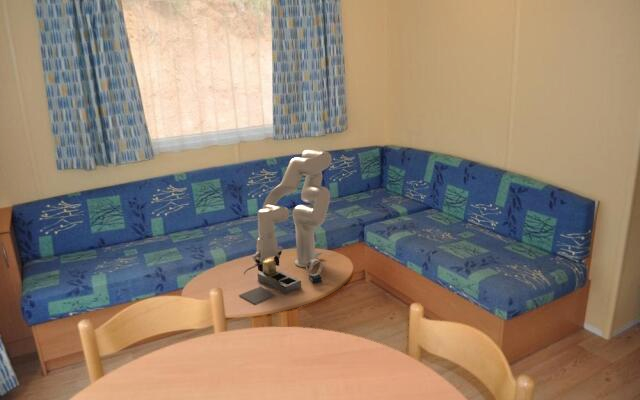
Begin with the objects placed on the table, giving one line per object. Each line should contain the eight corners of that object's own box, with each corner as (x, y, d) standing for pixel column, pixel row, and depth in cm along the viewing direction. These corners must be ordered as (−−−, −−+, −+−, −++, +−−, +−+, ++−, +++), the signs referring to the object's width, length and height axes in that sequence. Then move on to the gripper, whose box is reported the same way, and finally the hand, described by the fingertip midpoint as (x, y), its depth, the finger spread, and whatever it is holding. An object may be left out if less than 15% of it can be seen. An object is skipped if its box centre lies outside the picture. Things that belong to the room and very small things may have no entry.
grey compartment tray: (258, 280, 233) (257, 273, 232) (272, 274, 239) (272, 267, 238) (286, 294, 217) (285, 286, 216) (301, 288, 223) (300, 280, 222)
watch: (305, 280, 231) (304, 259, 228) (320, 277, 234) (319, 256, 231) (309, 285, 226) (308, 263, 223) (324, 281, 229) (324, 260, 226)
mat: (260, 287, 226) (260, 286, 226) (276, 295, 217) (276, 294, 217) (239, 296, 218) (239, 294, 218) (254, 304, 209) (254, 303, 209)
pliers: (243, 275, 239) (247, 259, 259) (243, 276, 240) (247, 260, 259) (262, 273, 240) (265, 258, 259) (262, 275, 240) (265, 259, 259)
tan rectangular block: (271, 277, 236) (269, 258, 233) (276, 280, 233) (275, 261, 230) (264, 280, 233) (262, 261, 231) (269, 283, 230) (268, 263, 227)
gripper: (276, 228, 235) (278, 261, 239) (247, 237, 224) (249, 271, 228) (285, 231, 230) (287, 265, 234) (256, 241, 218) (258, 275, 223)
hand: (268, 268), depth 231 cm, fingers open, 9 cm apart
